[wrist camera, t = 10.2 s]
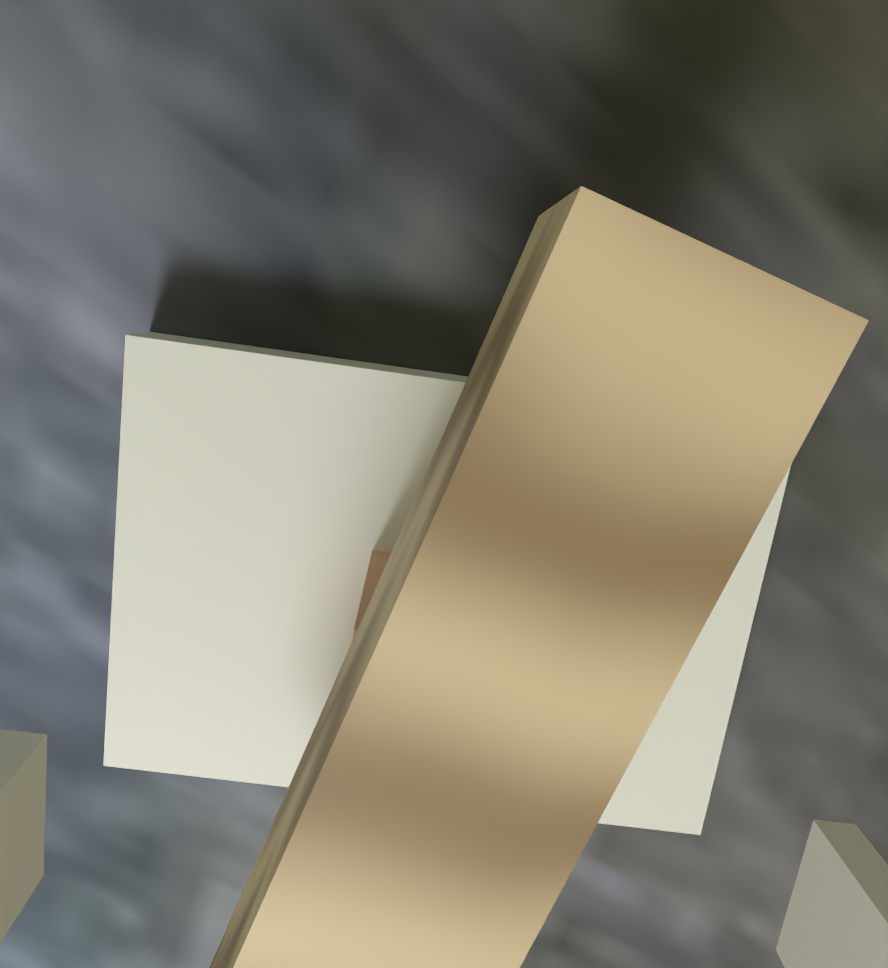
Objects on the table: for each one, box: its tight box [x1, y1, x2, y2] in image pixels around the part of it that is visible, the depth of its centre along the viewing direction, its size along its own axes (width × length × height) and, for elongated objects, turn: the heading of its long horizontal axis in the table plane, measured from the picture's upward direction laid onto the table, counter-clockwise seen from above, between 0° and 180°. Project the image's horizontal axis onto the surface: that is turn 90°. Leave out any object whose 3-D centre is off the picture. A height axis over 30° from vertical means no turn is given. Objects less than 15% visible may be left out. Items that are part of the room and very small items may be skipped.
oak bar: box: [210, 186, 869, 968], centre depth 17 cm, size 22×5×5 cm, turn 157°
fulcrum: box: [103, 332, 791, 835], centre depth 23 cm, size 14×20×8 cm
